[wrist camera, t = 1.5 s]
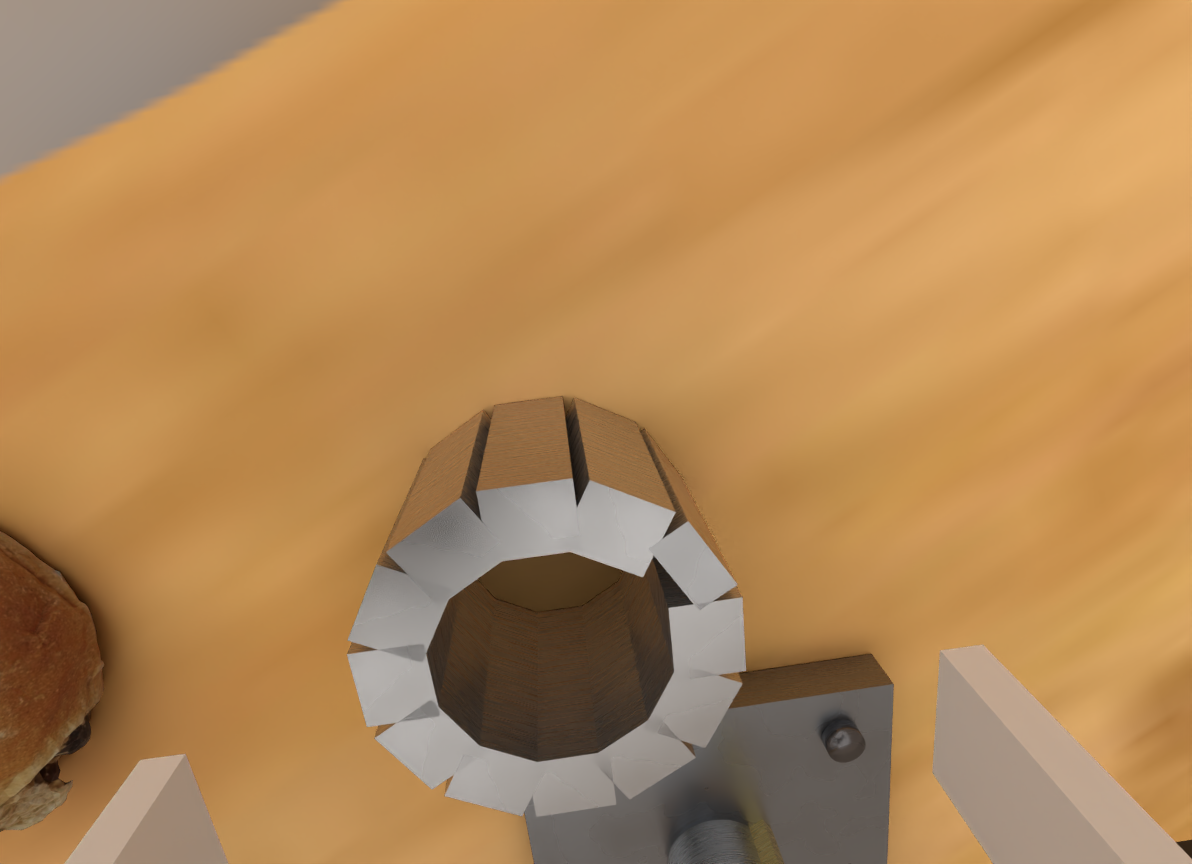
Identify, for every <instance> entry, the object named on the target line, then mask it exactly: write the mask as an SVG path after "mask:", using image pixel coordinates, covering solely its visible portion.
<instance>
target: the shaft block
mask: <svg viewBox="0 0 1192 864" xmlns="http://www.w3.org/2000/svg"><path fill="white" fill-rule="evenodd" d="M739 676H740V678H741V681H742V683H743V684H742V686H741V687H740V689H739V691H738V693H737V694H736V696H735V698H734V699H733V701H732V703H731V705H730V706H729V708H728V710H727V712H726V713H725V715H724V717H723V718H722V720H721V722H720V724H719V725H718V727H717V729H716V730H715V732H714V734H713V736H712V737H711V739H710V741H709V743H708V744H707V746H706V748H704V747H701V746H698V745H694V744H692V746H693V749H694V753H695V756H696V758H694V759H693V760H691V761H690V762H688V763H686V764H685V765H683V766H682V767H680V768H679V769H677V770H676V771H674V772H672V773H671V774H669V775H668V776H666V777H665V778H663V779H661V780H660V781H658V782H657V783H655V784H654V785H652V786H650V787H649V788H647V789H646V790H644V791H643V792H641V793H639V794H638V795H636V796H635V797H633V798H632V799H629V798H628V797H627V796H626V795H625V794H624V793H623V792H622V791H621V790H620V789H619V788H618V787H617V786H616V785H615V784H614V790H615V797H616V805H611V806H604V807H598V808H591V809H585V810H578V811H572V812H566V813H559V814H553V815H546V816H540V817H536V812H535V807H534V801H533V796H532V798H531V800H530V802H529V803H528V805H527V807H526V809H525V811H524V813H525V818H526V823H527V829H528V834H529V839H530V844H531V849H532V854H533V860H534V864H887V853H888V825H889V798H890V770H891V742H892V715H893V687H894V684H893V683H892V681H891V680H890V678H889V677H888V676H887V674H886V673H885V672H884V670H883V669H882V668H881V666H880V665H879V664H878V662H877V661H876V660H875V658H874V657H873V655H872V654H868V655H862V656H855V657H848V658H841V659H835V660H828V661H821V662H814V663H808V664H801V665H794V666H788V667H781V668H774V669H767V670H761V671H754V672H747V673H740V674H739Z"/></svg>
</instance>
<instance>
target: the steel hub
mask: <svg viewBox="0 0 1192 864" xmlns="http://www.w3.org/2000/svg"><path fill="white" fill-rule="evenodd" d="M566 552H572V553H574V554H577V555H580V556H583V557H586V558H589V559H592V560H595V561H597V562H600V563H603V564H606V565H609V566H612V567H615V568H618V569H620V570H623V573H622V575H621V577H620V579H619V581H618V582H617V583H615V584H614V585H612V586H611V587H609V588H608V589H606V590H605V591H604V592H602V593H601V594H599V595H598V596H596V597H595V598H593V599H592V600H590V601H589V602H588V603H586V604H585V605H583V606H580V607H573V608H566V609H559V610H552V611H545V612H534V611H531V610H528V609H525V608H522V607H519V606H516V605H513V604H510V603H507V602H504V601H501V600H498V599H495V598H494V597H493V596H492V595H491V594H490V592H489V591H488V590H487V589H486V588H485V587H484V586H483V585H482V584H481V583H480V582H479V581H478V580H477V579H478V578H479V577H481V576H482V575H484V574H485V573H486V572H488V571H489V570H491V569H492V568H493V567H495V566H496V565H498V564H499V563H500V562H502V561H509V560H516V559H523V558H530V557H537V556H545V555H552V554H559V553H566ZM736 585H738V584H737V582H736V580H735V579H734V577H733V575H732V573H731V571H730V569H729V567H728V565H727V563H726V561H725V559H724V557H723V556H722V554H721V552H720V550H719V548H718V546H717V544H716V542H715V540H714V538H713V536H712V535H711V533H710V531H709V529H708V527H707V525H706V523H705V521H704V519H703V517H702V515H701V513H700V512H699V510H698V508H697V506H696V504H695V502H694V500H693V498H692V496H691V494H690V492H689V491H688V489H687V487H686V485H685V483H684V481H683V479H682V477H681V476H680V474H679V473H678V472H677V471H676V469H675V468H674V467H673V465H672V464H671V463H670V461H669V460H668V459H667V457H666V456H665V455H664V453H663V452H662V451H661V450H660V448H659V447H658V446H657V444H656V443H655V442H654V440H653V439H652V438H651V436H650V435H649V434H648V432H647V431H646V430H645V429H644V430H642V431H641V432H640V431H639V428H638V426H637V424H636V422H634V421H632V420H629V419H627V418H624V417H622V416H619V415H617V414H614V413H612V412H609V411H607V410H604V409H602V408H599V407H596V406H594V405H591V404H589V403H586V402H584V401H581V400H579V399H576V398H574V400H573V402H572V404H571V407H570V409H569V411H568V413H567V416H566V418H565V412H564V405H563V397H562V396H560V397H553V398H545V399H537V400H530V401H522V402H514V403H507V404H499V405H494V410H493V415H492V419H491V418H490V417H489V416H488V415H487V413H486V412H485V411H484V410H482V411H481V412H480V413H478V414H477V415H476V416H474V417H473V418H472V419H470V420H469V421H468V422H466V423H465V424H464V425H462V426H461V427H460V428H458V429H457V430H456V431H454V432H453V433H452V434H450V435H449V436H448V437H446V438H445V439H444V440H442V441H441V442H440V443H438V444H437V445H436V446H434V447H433V448H432V449H431V450H430V452H429V454H428V457H427V459H423V461H422V463H421V466H420V468H419V470H418V472H417V475H416V477H415V479H414V481H413V484H412V486H411V488H410V490H409V493H408V495H407V497H406V499H405V502H404V504H403V506H402V508H401V511H400V513H399V515H398V517H397V519H396V522H395V524H394V526H393V528H392V531H391V533H390V535H389V537H388V540H387V542H386V544H385V546H384V549H383V551H382V553H381V555H380V558H379V560H378V562H377V564H376V567H375V570H374V572H373V575H372V577H371V580H370V583H369V585H368V588H367V591H366V593H365V596H364V599H363V601H362V604H361V606H360V609H359V612H358V614H357V617H356V620H355V622H354V625H353V628H352V630H351V633H350V635H349V638H348V641H351V642H352V643H351V646H350V648H349V651H348V653H347V656H348V660H349V664H350V667H351V671H352V674H353V678H354V682H355V685H356V689H357V693H358V696H359V700H360V703H361V707H362V711H363V714H364V718H365V722H366V725H367V727H371V726H378V728H377V731H376V735H375V738H374V739H376V740H377V741H378V742H379V743H380V744H381V745H382V746H383V747H385V748H386V749H387V750H388V751H389V752H390V753H391V754H392V755H394V756H395V757H396V758H397V759H398V760H399V761H400V762H401V763H403V764H404V765H405V766H406V767H407V768H408V769H409V770H410V771H412V772H413V773H414V774H415V775H416V776H417V777H418V778H419V779H421V780H422V781H423V782H424V783H425V784H426V785H427V786H429V787H430V788H431V789H434V788H435V787H437V786H438V785H439V784H441V783H442V782H444V781H445V780H447V783H446V789H445V795H444V796H446V797H450V798H454V799H458V800H462V801H465V802H469V803H473V804H477V805H481V806H485V807H488V808H492V809H496V810H500V811H504V812H507V813H511V814H515V815H519V816H522V815H523V813H524V811H525V809H526V807H527V805H528V803H529V802H530V800H531V798H532V796H533V801H534V807H535V812H536V817H540V816H546V815H553V814H559V813H566V812H572V811H578V810H585V809H591V808H598V807H604V806H611V805H616V797H615V790H614V784H615V785H616V786H617V787H618V788H619V789H620V790H621V791H622V792H623V793H624V794H625V795H626V796H627V797H628V798H629V799H632V798H633V797H635V796H636V795H638V794H639V793H641V792H643V791H644V790H646V789H647V788H649V787H650V786H652V785H654V784H655V783H657V782H658V781H660V780H661V779H663V778H665V777H666V776H668V775H669V774H671V773H672V772H674V771H676V770H677V769H679V768H680V767H682V766H683V765H685V764H686V763H688V762H690V761H691V760H693V759H694V758H696V756H695V753H694V749H693V746H692V744H694V745H698V746H701V747H704V748H706V746H707V744H708V743H709V741H710V739H711V737H712V736H713V734H714V732H715V730H716V729H717V727H718V725H719V724H720V722H721V720H722V718H723V717H724V715H725V713H726V712H727V710H728V708H729V706H730V705H731V703H732V701H733V699H734V698H735V696H736V694H737V693H738V691H739V689H740V687H741V686H742V684H743V683H742V681H741V678H740V676H739V673H738V672H742V671H746V660H745V639H744V619H743V599H742V596H741V594H740V592H739V590H738V588H737V586H736Z"/></svg>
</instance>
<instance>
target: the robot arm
mask: <svg viewBox="0 0 1192 864" xmlns="http://www.w3.org/2000/svg"><path fill="white" fill-rule="evenodd" d="M932 773H933V774H934V776H935V777H936V779H937V780H938V782H939V783H940V785H941V786H942V788H943V789H944V791H945V792H946V794H947V795H948V797H949V798H950V800H951V801H952V803H953V804H954V806H955V807H956V809H957V810H958V812H959V813H960V815H961V816H962V818H963V819H964V821H965V822H966V824H967V825H968V827H969V828H970V830H971V831H972V833H973V834H974V836H975V837H976V839H977V840H978V842H979V843H980V845H981V846H982V848H983V849H984V851H985V852H986V854H987V855H988V857H989V858H990V860H991V861H992V863H993V864H1192V840H1187V841H1181V842H1175V841H1174V840H1173V839H1172V838H1171V837H1170V836H1169V835H1168V834H1167V833H1166V832H1165V831H1164V830H1163V829H1162V828H1161V827H1160V826H1159V825H1158V824H1157V823H1156V822H1155V821H1154V820H1153V819H1152V818H1151V817H1150V816H1149V814H1148V813H1147V812H1146V811H1145V810H1144V809H1143V808H1142V807H1141V806H1140V805H1139V804H1138V803H1137V802H1136V801H1135V800H1134V799H1133V798H1132V797H1131V796H1130V795H1129V794H1128V793H1127V792H1126V791H1125V790H1124V789H1123V788H1122V787H1121V786H1120V785H1119V784H1118V783H1117V782H1116V781H1115V780H1114V779H1113V778H1112V777H1111V775H1110V774H1109V773H1108V772H1107V771H1106V770H1105V769H1104V768H1103V767H1102V766H1101V765H1100V764H1099V763H1098V762H1097V761H1096V760H1095V759H1094V758H1093V757H1092V756H1091V755H1090V754H1089V753H1088V752H1087V751H1086V750H1085V749H1084V748H1083V747H1082V746H1081V745H1080V744H1079V743H1078V742H1077V741H1076V740H1075V739H1074V738H1073V737H1072V735H1071V734H1070V733H1069V732H1068V731H1067V730H1066V729H1065V728H1064V727H1063V726H1062V725H1061V724H1060V723H1059V722H1058V721H1057V720H1056V719H1055V718H1054V717H1053V716H1052V715H1051V714H1050V713H1049V712H1048V711H1047V710H1046V709H1045V708H1044V707H1043V706H1042V705H1041V704H1040V703H1039V702H1038V701H1037V700H1036V699H1035V698H1034V696H1033V695H1032V694H1031V693H1030V692H1029V691H1028V690H1027V689H1026V688H1025V687H1024V686H1023V685H1022V684H1021V683H1020V682H1019V681H1018V680H1017V679H1016V678H1015V677H1014V676H1013V675H1012V674H1011V673H1010V672H1009V671H1008V670H1007V669H1006V668H1005V667H1004V666H1003V665H1002V664H1001V663H1000V662H999V661H998V660H997V659H996V658H995V656H994V655H993V654H992V653H991V652H990V651H989V650H988V649H987V648H986V647H985V646H984V645H976V646H969V647H962V648H955V649H947V650H940V660H939V676H938V692H937V708H936V724H935V740H934V756H933V772H932ZM64 864H228V861H227V859H226V856H225V854H224V851H223V848H222V846H221V843H220V841H219V838H218V836H217V833H216V831H215V828H214V825H213V823H212V820H211V818H210V815H209V813H208V810H207V808H206V805H205V802H204V800H203V797H202V795H201V792H200V790H199V787H198V785H197V782H196V779H195V777H194V774H193V772H192V769H191V767H190V764H189V762H188V759H187V756H186V754H180V755H173V756H166V757H158V758H151V759H144V760H140V761H139V762H138V764H137V765H136V766H135V768H134V769H133V770H132V772H131V773H130V775H129V776H128V777H127V779H126V780H125V781H124V783H123V784H122V786H121V787H120V788H119V790H118V791H117V792H116V794H115V795H114V796H113V798H112V799H111V801H110V802H109V803H108V805H107V806H106V807H105V809H104V810H103V811H102V813H101V814H100V816H99V817H98V818H97V820H96V821H95V822H94V824H93V825H92V826H91V828H90V829H89V831H88V832H87V833H86V835H85V836H84V837H83V839H82V840H81V842H80V843H79V844H78V846H77V847H76V848H75V850H74V851H73V852H72V854H71V855H70V857H69V858H68V859H67V861H66V862H65V863H64Z"/></svg>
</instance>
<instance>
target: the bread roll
mask: <svg viewBox="0 0 1192 864" xmlns="http://www.w3.org/2000/svg"><path fill="white" fill-rule="evenodd" d="M103 667H104V662H103V661H102V660H101V658H100V650H99V647H98V643H97V637H96V628H95V625H94V622H93V619H92V614H91V613H90V611H89V608H88V607H87V606H86V604H84V603H82V602H80V601H79V600H78V598H77V597H76V595H75V593H74V591H73V590H72V589H71V588H70V586H69V585H68V583H67V582H66V580H65V579H64V577H63V576H62V574H61V573H60V572H59V571H57V570H54V569H53V568H51V567H50V566H48V565H47V564H45V563H44V562H43V561H41V560H40V559H38V558H37V557H36V556H35V555H34V554H33V553H31V552H30V551H29V550H28V549H27V548H25V547H24V546H22V545H21V544H19V543H18V542H17V541H15V540H14V539H12V538H11V537H9V536H8V535H6V534H5V533H3V532H1V531H0V832H1V831H3V830H24V829H26V828H28V827H30V826H32V825H34V824H36V823H38V822H40V821H42V820H43V819H44V818H45V817H46V816H47V815H48V814H49V813H50V812H51V811H53V810H54V809H55V808H57V807H58V806H61V805H62V804H63V803H64V801H65V800H66V799H67V793H68V792H69V790H70V789H71V787H72V786H73V780H72V781H70V782H68V783H65V782H63V781H62V780H60V779H58V777H59V773H60V769H59V766H58V759H59V758H60V756H61V755H66V754H72V753H74V752H75V751H77V750H79V749H80V748H82V747H83V746H84V745H85V744H86V743H87V742H88V741H89V740H90V735H91V727H90V724H89V720H90V718H91V709H92V708H93V707H94V706H95V704H97V703H98V702H99V701H100V698H101V696H102V693H103V691H104V684H103V674H102V668H103Z"/></svg>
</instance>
